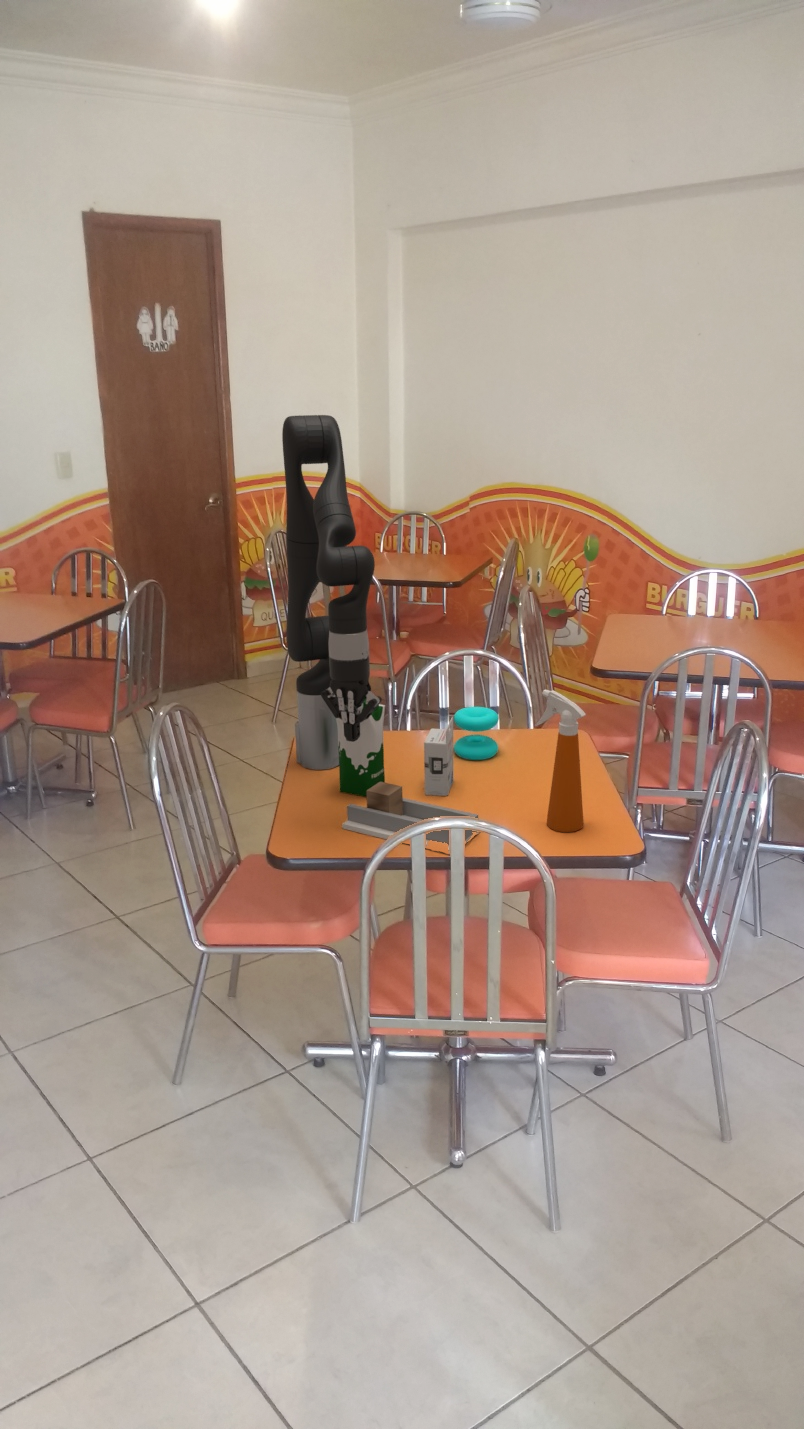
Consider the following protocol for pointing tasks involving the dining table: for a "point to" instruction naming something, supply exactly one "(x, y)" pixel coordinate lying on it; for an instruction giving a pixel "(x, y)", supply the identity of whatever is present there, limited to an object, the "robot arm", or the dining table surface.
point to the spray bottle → (565, 765)
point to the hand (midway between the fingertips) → (352, 740)
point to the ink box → (439, 761)
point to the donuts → (476, 721)
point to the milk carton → (362, 755)
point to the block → (385, 798)
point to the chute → (400, 820)
